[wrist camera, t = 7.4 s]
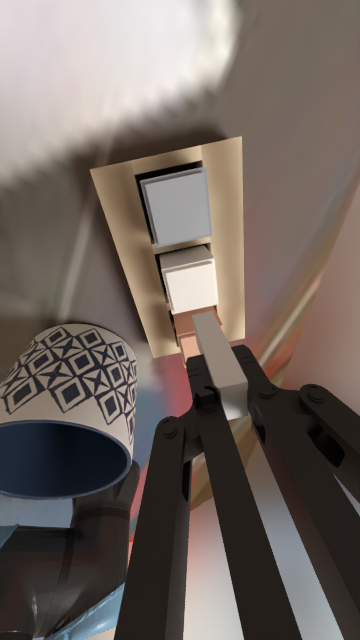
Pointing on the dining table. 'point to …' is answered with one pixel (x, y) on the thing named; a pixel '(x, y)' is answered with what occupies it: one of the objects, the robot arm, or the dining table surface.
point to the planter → (67, 414)
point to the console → (140, 249)
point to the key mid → (189, 279)
